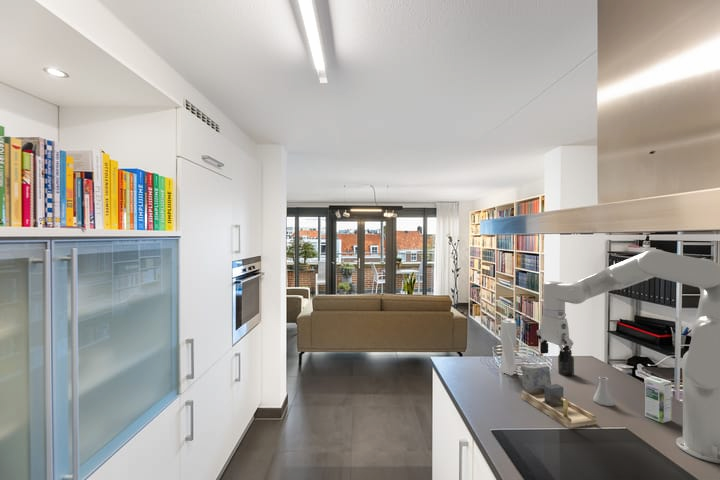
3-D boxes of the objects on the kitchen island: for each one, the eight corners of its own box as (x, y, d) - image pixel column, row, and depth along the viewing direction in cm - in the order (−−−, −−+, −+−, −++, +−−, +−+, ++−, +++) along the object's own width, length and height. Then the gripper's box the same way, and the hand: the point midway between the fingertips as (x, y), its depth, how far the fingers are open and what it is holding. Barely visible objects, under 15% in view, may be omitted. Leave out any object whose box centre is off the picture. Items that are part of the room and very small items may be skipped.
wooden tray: (596, 424, 124) (596, 398, 125) (568, 428, 122) (568, 402, 122) (545, 395, 148) (545, 374, 148) (521, 398, 145) (521, 376, 145)
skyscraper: (496, 372, 174) (496, 316, 174) (503, 368, 179) (503, 314, 179) (512, 376, 168) (512, 318, 168) (519, 372, 173) (519, 316, 173)
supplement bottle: (560, 370, 177) (560, 346, 177) (576, 374, 172) (576, 349, 172) (556, 373, 172) (556, 349, 172) (571, 377, 167) (571, 352, 167)
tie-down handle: (565, 405, 135) (565, 386, 135) (548, 407, 133) (548, 388, 133) (559, 402, 138) (559, 383, 138) (542, 404, 136) (542, 385, 136)
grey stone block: (537, 383, 160) (537, 361, 160) (552, 391, 152) (552, 367, 152) (519, 385, 157) (519, 362, 158) (533, 393, 149) (533, 369, 150)
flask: (618, 407, 137) (618, 382, 137) (597, 405, 138) (597, 380, 139) (609, 399, 144) (609, 375, 144) (589, 397, 146) (589, 373, 146)
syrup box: (644, 416, 130) (644, 377, 130) (654, 413, 132) (654, 375, 132) (662, 423, 125) (662, 383, 125) (672, 420, 127) (672, 380, 127)
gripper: (580, 317, 128) (580, 364, 128) (545, 308, 145) (545, 349, 145) (563, 318, 127) (563, 365, 127) (530, 309, 143) (529, 351, 143)
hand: (553, 357), depth 136 cm, fingers open, 9 cm apart
